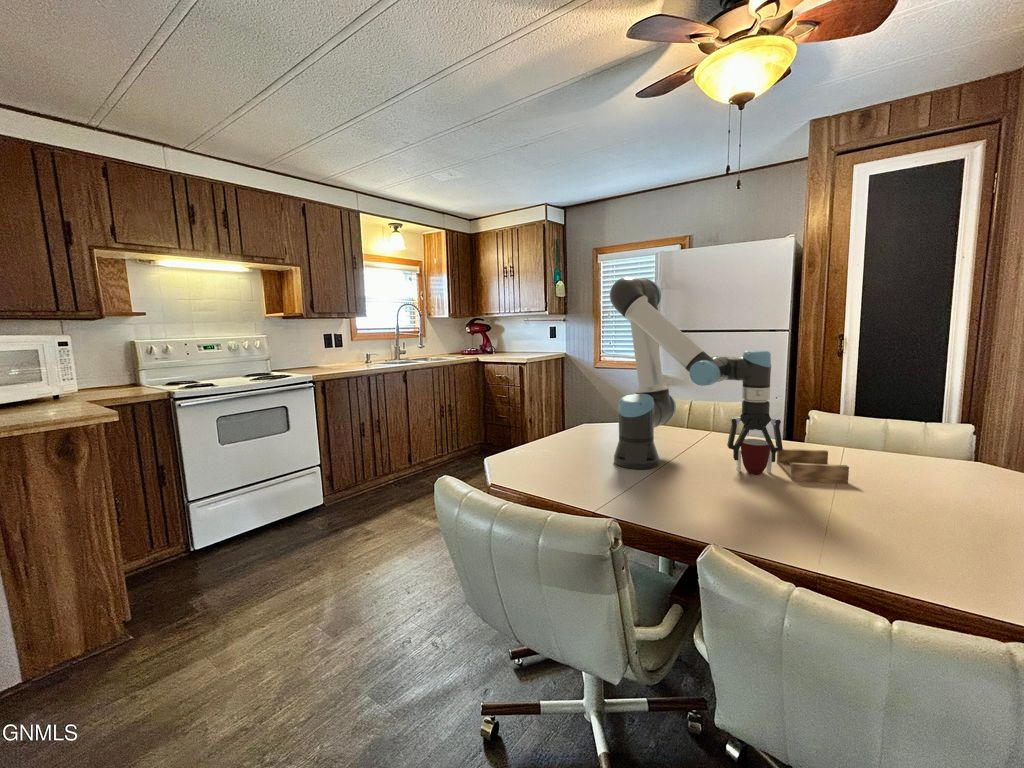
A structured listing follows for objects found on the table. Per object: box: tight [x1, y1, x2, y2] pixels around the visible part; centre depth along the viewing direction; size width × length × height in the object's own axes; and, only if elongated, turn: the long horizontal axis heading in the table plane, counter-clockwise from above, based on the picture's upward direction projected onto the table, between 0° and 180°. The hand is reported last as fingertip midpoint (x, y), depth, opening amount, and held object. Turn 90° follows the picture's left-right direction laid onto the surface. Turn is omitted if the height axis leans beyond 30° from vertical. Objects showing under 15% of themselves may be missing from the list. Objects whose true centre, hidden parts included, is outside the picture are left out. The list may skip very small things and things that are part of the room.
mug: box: [740, 438, 770, 476], centre depth 138 cm, size 10×8×10 cm
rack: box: [776, 448, 850, 484], centre depth 136 cm, size 14×17×5 cm
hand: (753, 470), depth 139 cm, fingers closed on mug, 8 cm apart
